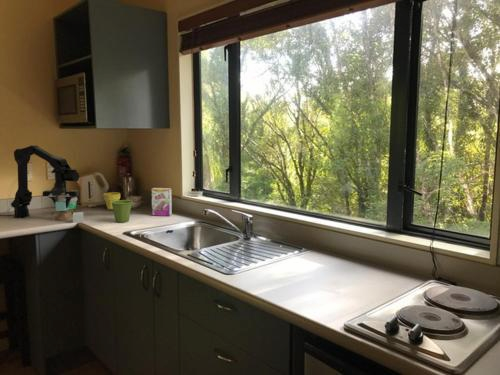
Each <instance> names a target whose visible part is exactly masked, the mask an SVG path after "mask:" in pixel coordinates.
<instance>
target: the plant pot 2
mask: <svg viewBox="0 0 500 375" xmlns="http://www.w3.org/2000/svg"><path fill="white" fill-rule="evenodd" d="M111 203H112V207H113V209H112V211H113V215H114V221H115V222H116V223H128V222H129V221H130V214H131V210H132V209H131V207H132V204H133V203H134V201H133V200H129V199H121V200H120V199H119V200H116V201H111Z"/></svg>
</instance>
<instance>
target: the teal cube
mask: <svg viewBox="0 0 500 375" xmlns="http://www.w3.org/2000/svg"><path fill="white" fill-rule="evenodd" d="M55 205H56V206H55ZM54 206H55V211H56V212H60V211H66V210H68V208H66V201H57V202H55V204H54Z"/></svg>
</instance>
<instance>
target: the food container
mask: <svg viewBox="0 0 500 375" xmlns="http://www.w3.org/2000/svg"><path fill="white" fill-rule="evenodd" d="M58 201H66V198H65V197H64V198H58ZM77 201H78V196H74V197H72V198H71V200H70V203H69V205H68V210H66V211H59V212H71V213H72V215H73V213H75V212H77Z"/></svg>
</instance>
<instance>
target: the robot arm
mask: <svg viewBox="0 0 500 375" xmlns="http://www.w3.org/2000/svg"><path fill="white" fill-rule="evenodd" d="M32 155H35V156H36V157H38V158H40V159H42V160H44V161H45V162H47V163H48V164H49V165H50V167H51V168H53V169H52V170H51V172H50V173H52V174H54V182H53V183H54V184H53V187H52V188H51V189H47V190H44V191H42V194H41V195H42V197H48V198H50V199H51V200H52V201H53V204H54V207H56V205H55V202H57V201H58V199H59V196H62V195H63V196H64V199H65V198H66V208H68V205H69V203H70V200H71V198H75V196H76V197H78V196H80V190H78V189H72V190H70V191H68V189H67V184H68V182H73V183H74V182H75V183H76V182H78V181H79V180H80V173H79V172H78V171H77V169H76V168H75V169H74V168H73V169H72V168H71V166H70V165H69V164H68V161H67V160H66V158H63V157H61V156H56V155H53V154H52V153H50V152H48V151H46V150H45V149H43V148H42V147H40V146H38V145H36V144H35V145H29V146H27V147H23V148H16V149H15V150H14V151H13V156H14V161H15V162H16V164H17V190H16V192H15V194H14V199H13V201H12V202H10V207H11V208H13V210H14V216H13V218H22V219H23V218H27V217H30V212H29V210H30V209H29V206H30V205H31V202H32V199H33V192H32V191H30V190H29V186H28V185H29V180H28V178H29V177H28V175H29V174H28V164H29V162H30V161H31V157H32Z"/></svg>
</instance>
